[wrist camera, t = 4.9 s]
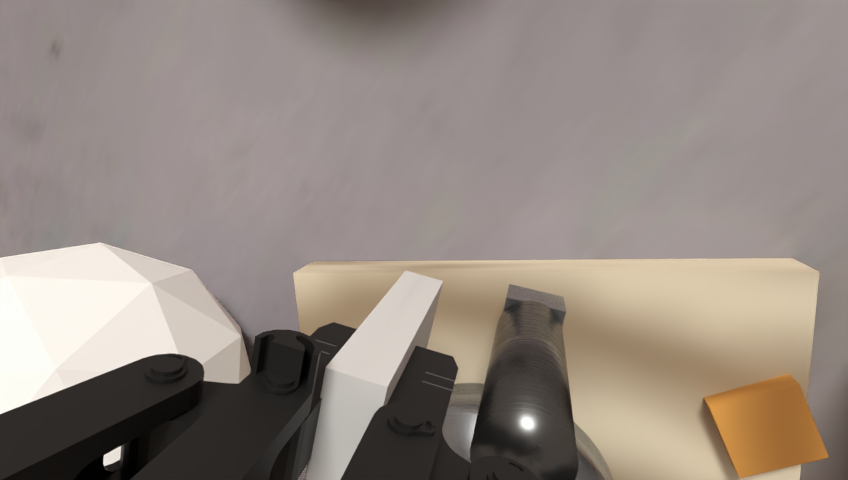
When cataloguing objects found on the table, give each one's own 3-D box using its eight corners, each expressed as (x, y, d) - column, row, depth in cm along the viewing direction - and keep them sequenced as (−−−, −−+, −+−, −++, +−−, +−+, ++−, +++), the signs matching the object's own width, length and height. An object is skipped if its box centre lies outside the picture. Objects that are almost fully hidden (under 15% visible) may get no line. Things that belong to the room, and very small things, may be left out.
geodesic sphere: (-124, 364, 24) (-422, 751, 13) (-41, 117, 20) (-373, 379, 9) (187, 414, 31) (166, 683, 20) (293, 244, 27) (336, 468, 16)
